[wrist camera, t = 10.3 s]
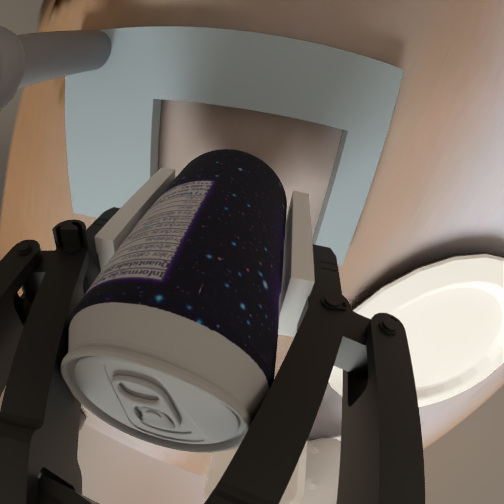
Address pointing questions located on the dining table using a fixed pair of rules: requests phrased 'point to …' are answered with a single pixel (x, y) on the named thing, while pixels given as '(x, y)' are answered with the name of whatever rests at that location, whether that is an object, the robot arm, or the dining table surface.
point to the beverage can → (187, 310)
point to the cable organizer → (296, 473)
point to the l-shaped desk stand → (202, 91)
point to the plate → (445, 322)
